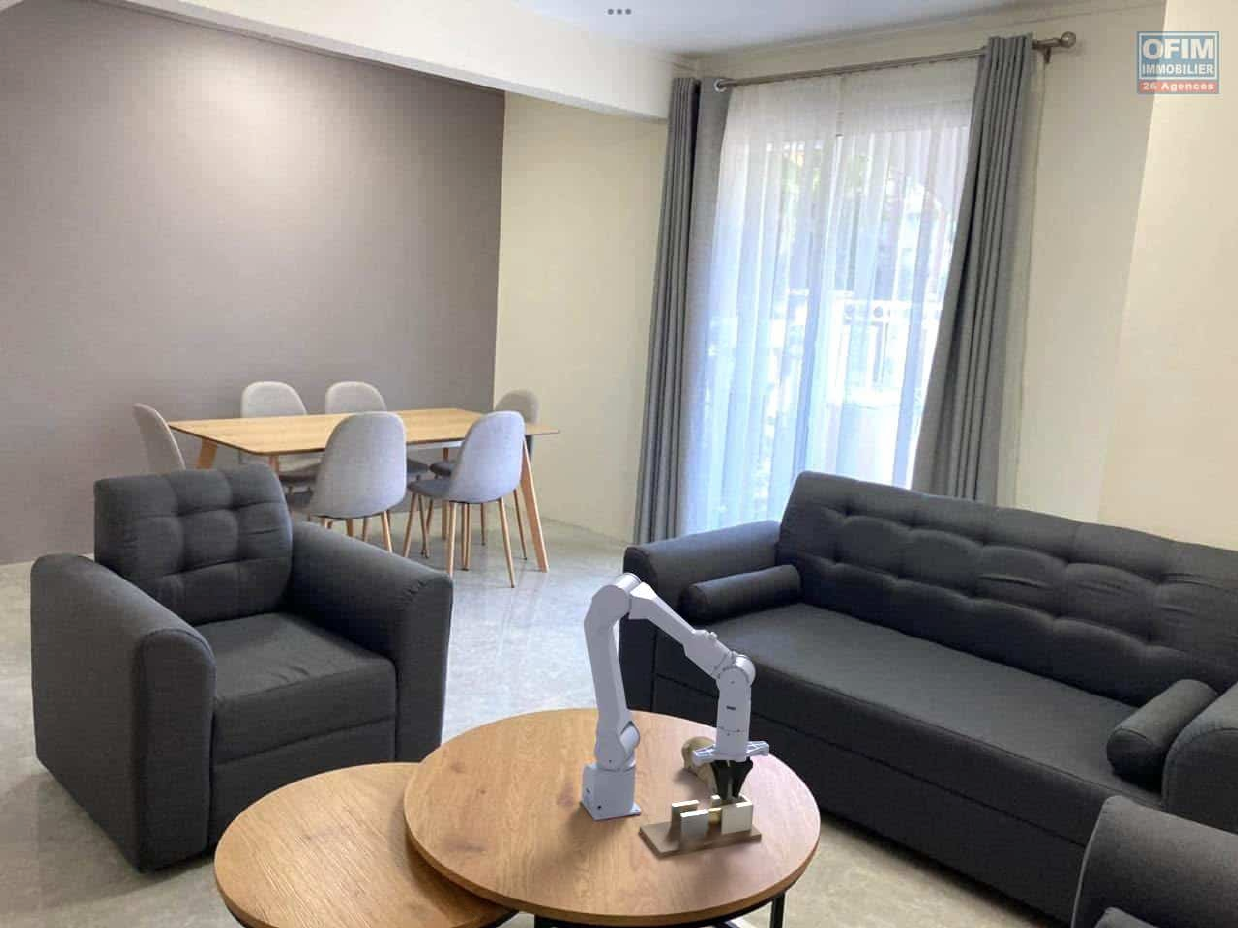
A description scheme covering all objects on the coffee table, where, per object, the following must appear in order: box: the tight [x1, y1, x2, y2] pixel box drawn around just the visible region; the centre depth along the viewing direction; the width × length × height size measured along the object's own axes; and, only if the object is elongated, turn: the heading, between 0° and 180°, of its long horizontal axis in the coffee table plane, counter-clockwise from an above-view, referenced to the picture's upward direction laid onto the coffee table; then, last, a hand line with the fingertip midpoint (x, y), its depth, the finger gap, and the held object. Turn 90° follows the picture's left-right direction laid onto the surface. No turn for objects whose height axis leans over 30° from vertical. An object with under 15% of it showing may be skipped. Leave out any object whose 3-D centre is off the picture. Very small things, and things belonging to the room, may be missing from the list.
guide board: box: [638, 799, 763, 859], centre depth 178 cm, size 20×9×6 cm, turn 112°
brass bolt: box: [685, 776, 734, 825], centre depth 178 cm, size 11×3×9 cm, turn 112°
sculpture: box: [680, 735, 748, 795], centre depth 198 cm, size 9×17×10 cm
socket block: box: [709, 791, 754, 834], centre depth 180 cm, size 6×5×5 cm
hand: (727, 796), depth 179 cm, fingers closed on brass bolt, 2 cm apart
